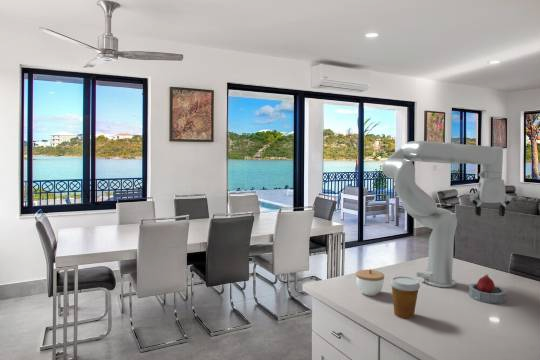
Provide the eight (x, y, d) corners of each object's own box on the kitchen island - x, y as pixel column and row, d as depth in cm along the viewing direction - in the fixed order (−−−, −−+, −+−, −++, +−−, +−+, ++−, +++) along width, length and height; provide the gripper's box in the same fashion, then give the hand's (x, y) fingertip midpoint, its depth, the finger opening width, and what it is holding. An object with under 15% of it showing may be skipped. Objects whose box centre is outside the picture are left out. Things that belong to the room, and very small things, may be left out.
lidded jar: (388, 292, 155) (389, 269, 155) (375, 300, 147) (376, 275, 147) (364, 286, 163) (364, 264, 162) (350, 293, 155) (350, 269, 154)
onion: (493, 298, 147) (495, 277, 146) (476, 295, 150) (477, 275, 149) (494, 294, 152) (495, 273, 151) (477, 291, 155) (478, 271, 154)
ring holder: (477, 303, 145) (478, 293, 145) (463, 291, 157) (464, 283, 157) (511, 304, 145) (511, 295, 144) (495, 292, 157) (495, 284, 156)
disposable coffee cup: (406, 323, 128) (407, 287, 127) (383, 312, 136) (384, 278, 135) (424, 316, 133) (426, 282, 132) (401, 307, 141) (403, 274, 140)
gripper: (474, 176, 166) (472, 216, 167) (517, 176, 164) (515, 217, 166) (467, 175, 173) (465, 213, 174) (508, 175, 172) (505, 214, 173)
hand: (489, 215), depth 170 cm, fingers open, 9 cm apart
